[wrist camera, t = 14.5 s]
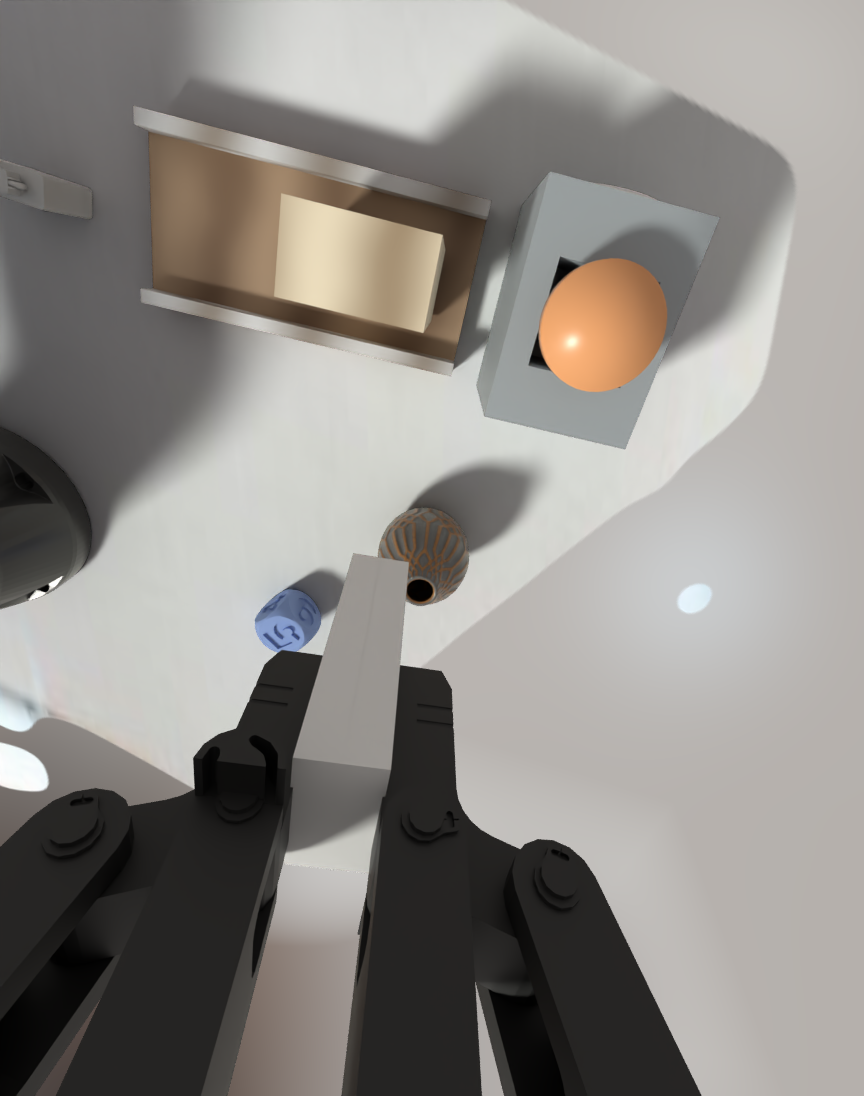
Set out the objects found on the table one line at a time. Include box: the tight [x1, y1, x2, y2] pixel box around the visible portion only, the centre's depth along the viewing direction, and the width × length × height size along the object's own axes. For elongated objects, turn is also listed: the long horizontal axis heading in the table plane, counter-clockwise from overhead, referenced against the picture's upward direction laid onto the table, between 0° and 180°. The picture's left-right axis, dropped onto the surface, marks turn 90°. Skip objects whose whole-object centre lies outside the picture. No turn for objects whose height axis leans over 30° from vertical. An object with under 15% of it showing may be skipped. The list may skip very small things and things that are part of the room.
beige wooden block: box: [274, 193, 445, 333], centre depth 27 cm, size 7×4×10 cm, turn 77°
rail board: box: [133, 106, 492, 376], centre depth 32 cm, size 20×10×3 cm, turn 77°
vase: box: [378, 508, 469, 606], centre depth 38 cm, size 7×7×9 cm
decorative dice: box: [255, 589, 321, 652], centre depth 44 cm, size 4×4×4 cm
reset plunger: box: [537, 258, 667, 392], centre depth 27 cm, size 6×6×8 cm
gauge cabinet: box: [476, 171, 720, 449], centre depth 29 cm, size 8×12×10 cm
